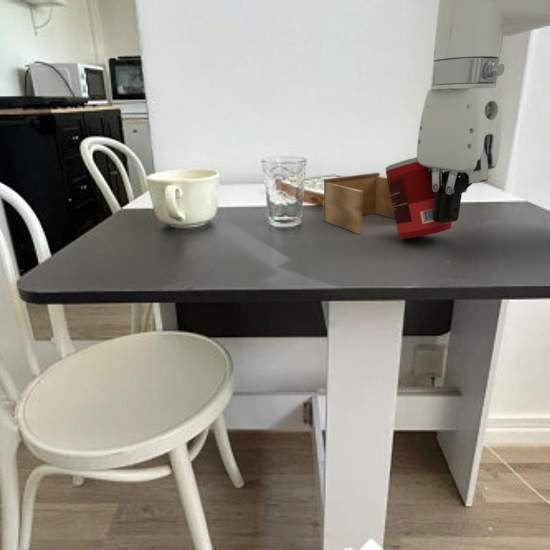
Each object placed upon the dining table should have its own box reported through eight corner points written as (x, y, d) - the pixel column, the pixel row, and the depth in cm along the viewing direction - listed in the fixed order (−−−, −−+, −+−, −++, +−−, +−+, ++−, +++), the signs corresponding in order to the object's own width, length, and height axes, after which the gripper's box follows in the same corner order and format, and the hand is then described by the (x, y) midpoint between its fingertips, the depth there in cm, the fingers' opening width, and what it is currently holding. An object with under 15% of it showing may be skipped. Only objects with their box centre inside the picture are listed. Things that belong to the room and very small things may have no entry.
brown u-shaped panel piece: (414, 223, 76) (417, 179, 73) (358, 234, 71) (360, 187, 69) (375, 212, 85) (377, 172, 82) (323, 220, 80) (323, 178, 78)
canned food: (462, 225, 66) (448, 152, 65) (436, 233, 60) (421, 154, 59) (416, 233, 71) (402, 166, 70) (389, 241, 66) (374, 169, 65)
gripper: (539, 73, 50) (511, 229, 56) (439, 80, 62) (425, 207, 69) (495, 72, 47) (470, 237, 53) (398, 80, 59) (388, 213, 66)
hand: (445, 220), depth 61 cm, fingers closed
